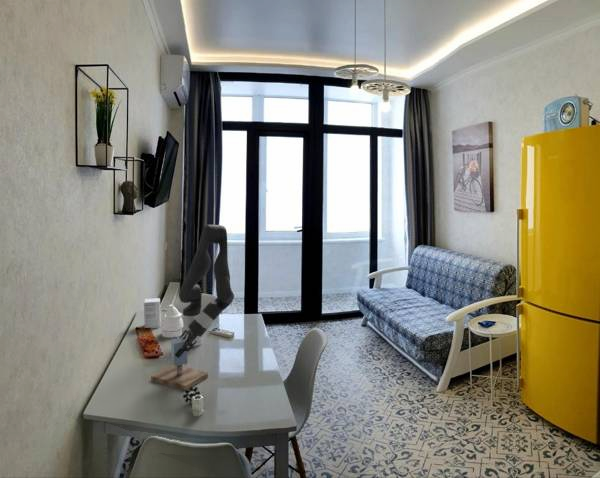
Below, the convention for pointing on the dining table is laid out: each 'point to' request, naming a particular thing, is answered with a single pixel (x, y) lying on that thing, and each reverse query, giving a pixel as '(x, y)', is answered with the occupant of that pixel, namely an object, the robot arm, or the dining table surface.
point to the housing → (175, 346)
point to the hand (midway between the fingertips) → (175, 354)
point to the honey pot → (172, 323)
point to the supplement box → (152, 313)
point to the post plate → (179, 376)
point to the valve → (195, 401)
